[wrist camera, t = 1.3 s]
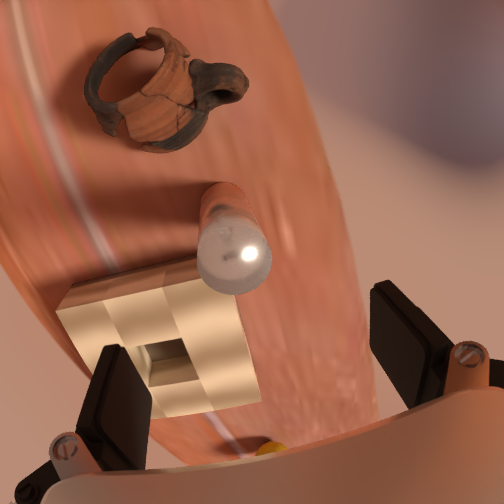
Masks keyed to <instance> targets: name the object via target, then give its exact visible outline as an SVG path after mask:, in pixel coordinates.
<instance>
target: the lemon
mask: <svg viewBox="0 0 504 504" xmlns="http://www.w3.org/2000/svg"><path fill="white" fill-rule="evenodd" d="M287 449H288V448H287V447H286V446H285V445H283V444H281V443H278V442H272V441H268V442H267V443H266V444H264V445H262V446H261V447H260V448H259V449H258V451H257V452H256V455H255V456H260V455H264V454H269V453H274V452H278V451H283V450H287Z"/></svg>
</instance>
